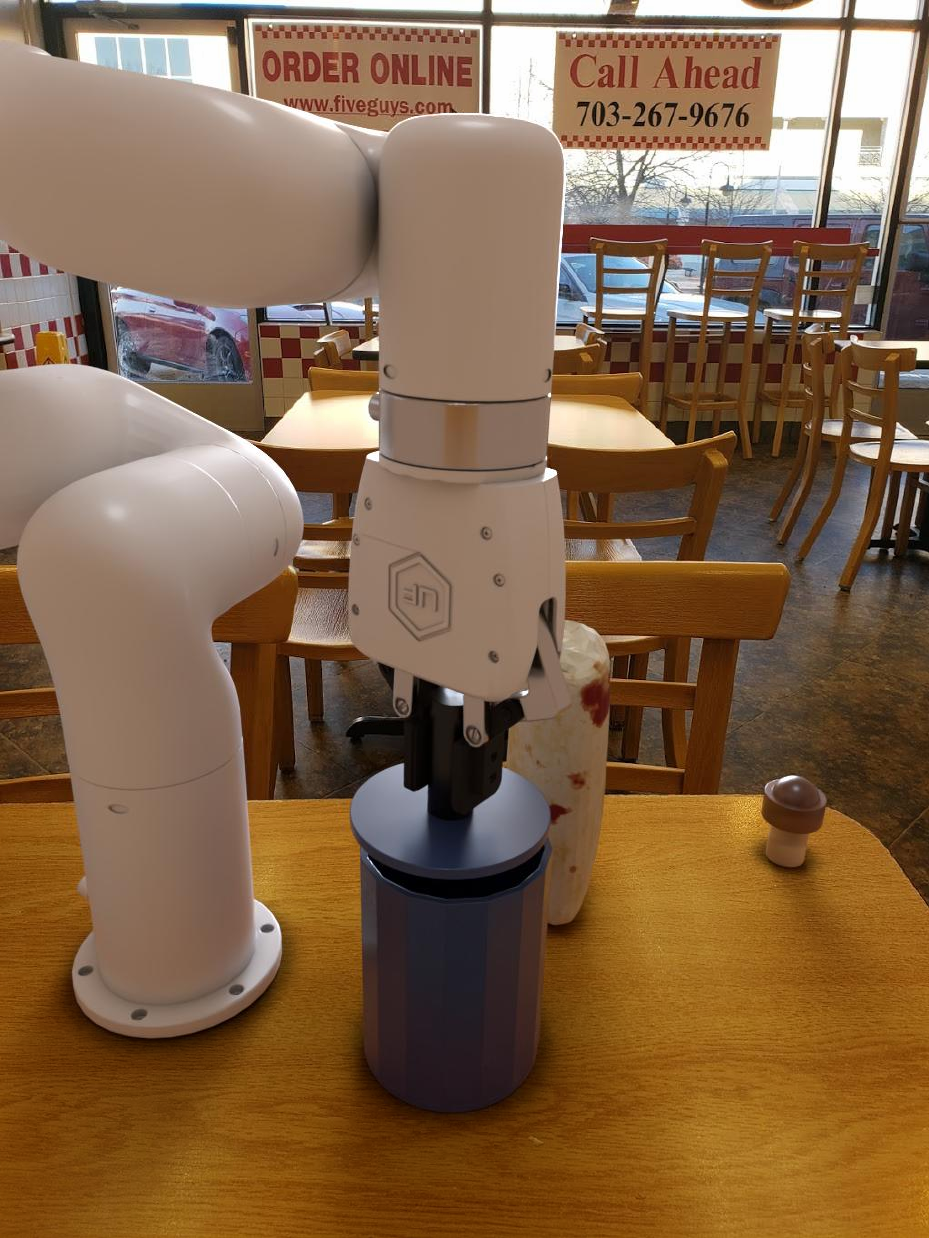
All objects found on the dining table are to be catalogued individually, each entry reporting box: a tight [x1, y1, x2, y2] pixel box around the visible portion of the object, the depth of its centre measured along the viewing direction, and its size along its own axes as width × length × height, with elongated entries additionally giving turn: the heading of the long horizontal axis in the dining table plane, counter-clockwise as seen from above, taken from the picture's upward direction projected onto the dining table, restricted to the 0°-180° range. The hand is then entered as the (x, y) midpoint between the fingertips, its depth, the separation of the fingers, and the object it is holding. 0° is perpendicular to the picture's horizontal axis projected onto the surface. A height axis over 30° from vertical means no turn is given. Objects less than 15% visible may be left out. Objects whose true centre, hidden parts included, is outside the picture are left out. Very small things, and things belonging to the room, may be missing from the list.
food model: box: [505, 619, 611, 926], centre depth 63 cm, size 10×7×20 cm
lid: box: [349, 686, 551, 880], centre depth 48 cm, size 10×10×8 cm
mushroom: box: [760, 775, 828, 868], centre depth 70 cm, size 4×4×7 cm
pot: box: [359, 837, 553, 1114], centre depth 52 cm, size 10×10×14 cm
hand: (451, 788), depth 48 cm, fingers closed on lid, 2 cm apart
